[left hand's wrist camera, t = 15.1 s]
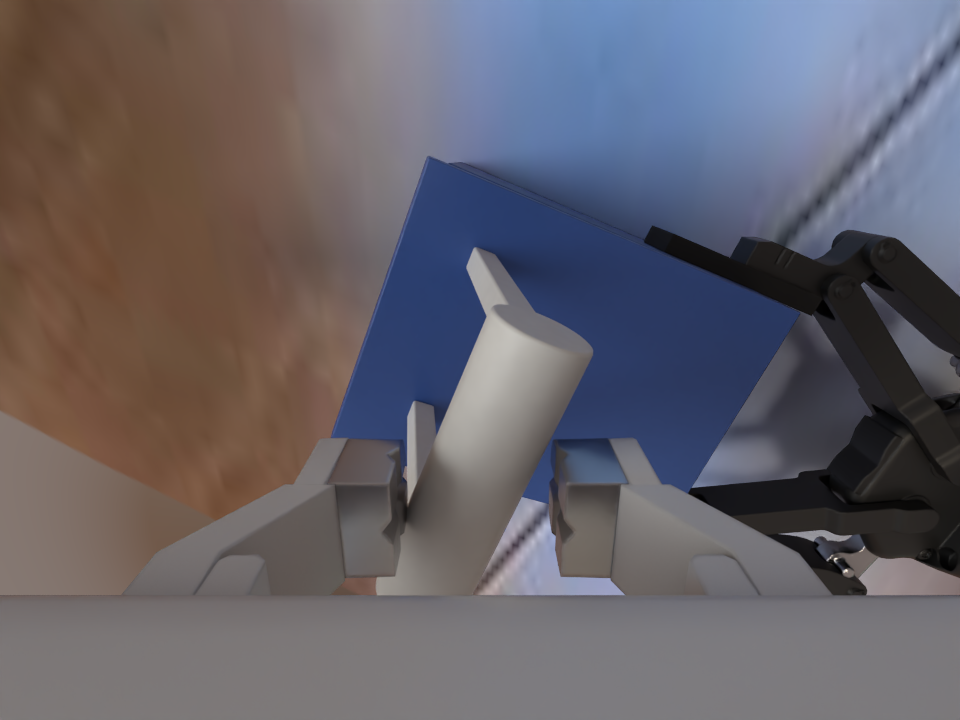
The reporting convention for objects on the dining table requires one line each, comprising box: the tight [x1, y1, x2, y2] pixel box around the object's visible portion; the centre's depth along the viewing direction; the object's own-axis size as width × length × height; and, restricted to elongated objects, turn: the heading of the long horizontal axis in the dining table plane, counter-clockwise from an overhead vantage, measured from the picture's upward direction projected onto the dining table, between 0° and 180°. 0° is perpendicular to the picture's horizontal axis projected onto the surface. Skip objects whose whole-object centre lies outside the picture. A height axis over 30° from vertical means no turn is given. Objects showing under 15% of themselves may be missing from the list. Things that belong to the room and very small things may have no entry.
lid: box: [331, 156, 800, 595], centre depth 14 cm, size 13×10×9 cm
